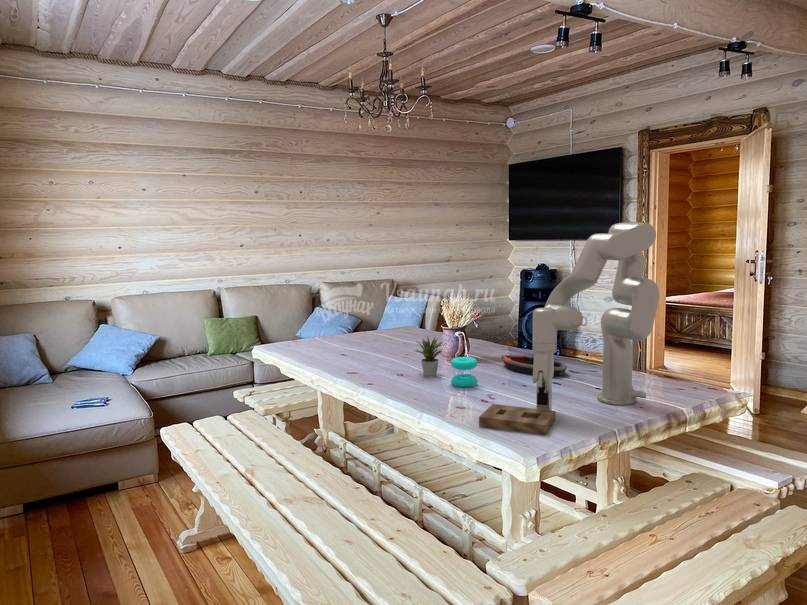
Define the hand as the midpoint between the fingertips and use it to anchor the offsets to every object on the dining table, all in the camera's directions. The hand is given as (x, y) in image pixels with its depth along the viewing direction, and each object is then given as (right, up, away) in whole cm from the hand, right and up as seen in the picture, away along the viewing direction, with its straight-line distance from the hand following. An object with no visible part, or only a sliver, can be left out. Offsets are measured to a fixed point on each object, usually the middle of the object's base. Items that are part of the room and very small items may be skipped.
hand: (543, 402), depth 193 cm
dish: (+8, +4, +55) cm, 55 cm away
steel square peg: (0, -3, 0) cm, 3 cm away
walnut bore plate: (-10, -5, -10) cm, 15 cm away
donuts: (-22, +1, +35) cm, 41 cm away
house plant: (-34, +2, +49) cm, 60 cm away
